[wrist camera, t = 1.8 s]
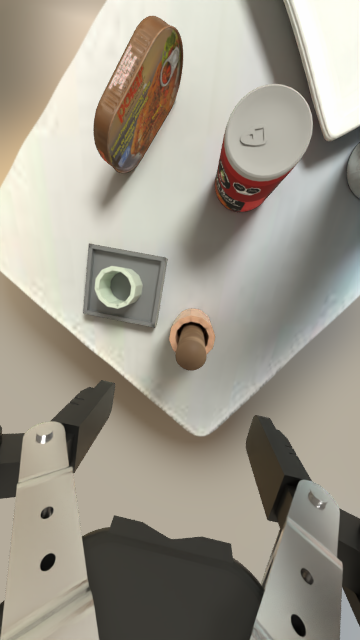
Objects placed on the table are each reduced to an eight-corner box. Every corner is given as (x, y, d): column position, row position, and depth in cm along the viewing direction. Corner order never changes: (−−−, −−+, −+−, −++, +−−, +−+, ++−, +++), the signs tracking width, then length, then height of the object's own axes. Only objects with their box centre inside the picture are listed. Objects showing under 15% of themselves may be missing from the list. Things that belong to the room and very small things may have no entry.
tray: (167, 258, 32) (166, 257, 31) (156, 325, 35) (154, 327, 33) (94, 245, 33) (88, 243, 31) (88, 311, 35) (83, 313, 33)
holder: (144, 271, 32) (137, 270, 28) (139, 307, 33) (132, 311, 29) (108, 264, 32) (97, 263, 28) (105, 300, 34) (93, 303, 30)
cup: (214, 312, 34) (218, 320, 27) (206, 346, 35) (209, 362, 28) (178, 305, 34) (173, 312, 27) (172, 339, 35) (166, 354, 28)
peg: (204, 319, 33) (209, 344, 21) (200, 337, 34) (203, 373, 21) (184, 315, 34) (178, 338, 21) (181, 334, 34) (173, 367, 21)
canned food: (206, 171, 30) (212, 110, 19) (260, 144, 28) (299, 62, 18) (225, 223, 31) (241, 193, 20) (277, 199, 30) (324, 153, 19)
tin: (126, 184, 31) (101, 150, 23) (109, 171, 31) (78, 131, 22) (186, 83, 28) (183, 1, 20) (168, 68, 28) (156, -22, 19)
